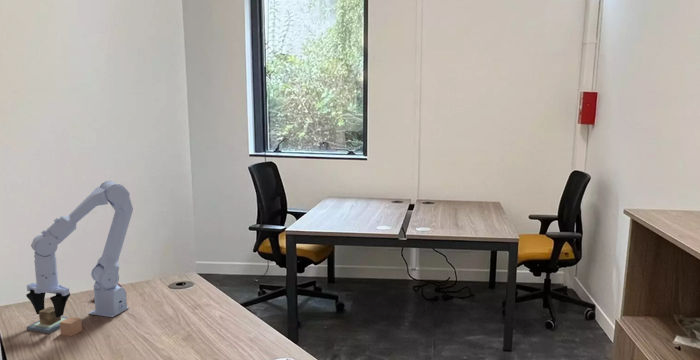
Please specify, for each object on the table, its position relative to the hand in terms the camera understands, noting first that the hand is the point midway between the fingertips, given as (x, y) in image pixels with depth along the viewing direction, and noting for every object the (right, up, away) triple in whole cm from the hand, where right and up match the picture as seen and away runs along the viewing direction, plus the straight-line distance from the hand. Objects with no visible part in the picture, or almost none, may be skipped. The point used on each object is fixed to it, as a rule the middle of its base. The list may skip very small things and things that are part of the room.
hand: (50, 314), depth 152 cm
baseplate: (0, -4, +1) cm, 4 cm away
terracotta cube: (+9, -4, -4) cm, 11 cm away
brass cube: (0, -2, 0) cm, 2 cm away
